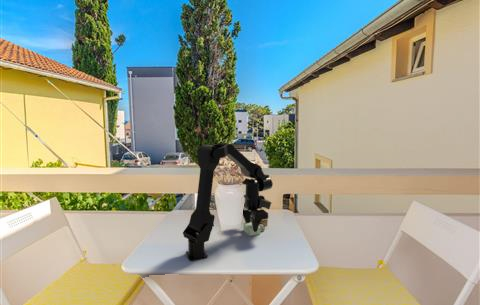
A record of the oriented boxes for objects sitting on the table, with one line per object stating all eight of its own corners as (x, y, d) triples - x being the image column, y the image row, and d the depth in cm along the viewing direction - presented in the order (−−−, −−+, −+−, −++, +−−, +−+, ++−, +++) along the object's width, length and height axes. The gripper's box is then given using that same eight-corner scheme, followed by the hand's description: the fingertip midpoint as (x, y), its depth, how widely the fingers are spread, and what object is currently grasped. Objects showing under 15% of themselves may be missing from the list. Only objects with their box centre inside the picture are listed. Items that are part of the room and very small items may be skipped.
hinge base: (267, 225, 131) (267, 219, 130) (254, 227, 128) (255, 221, 128) (257, 218, 140) (257, 212, 139) (245, 220, 137) (245, 214, 137)
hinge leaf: (267, 232, 122) (267, 226, 122) (249, 236, 119) (249, 229, 119) (260, 227, 128) (260, 220, 128) (243, 230, 125) (243, 223, 125)
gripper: (280, 197, 116) (279, 233, 118) (259, 186, 133) (258, 218, 135) (255, 200, 111) (254, 238, 113) (237, 188, 128) (236, 222, 130)
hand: (251, 228), depth 123 cm, fingers closed on hinge leaf, 7 cm apart
